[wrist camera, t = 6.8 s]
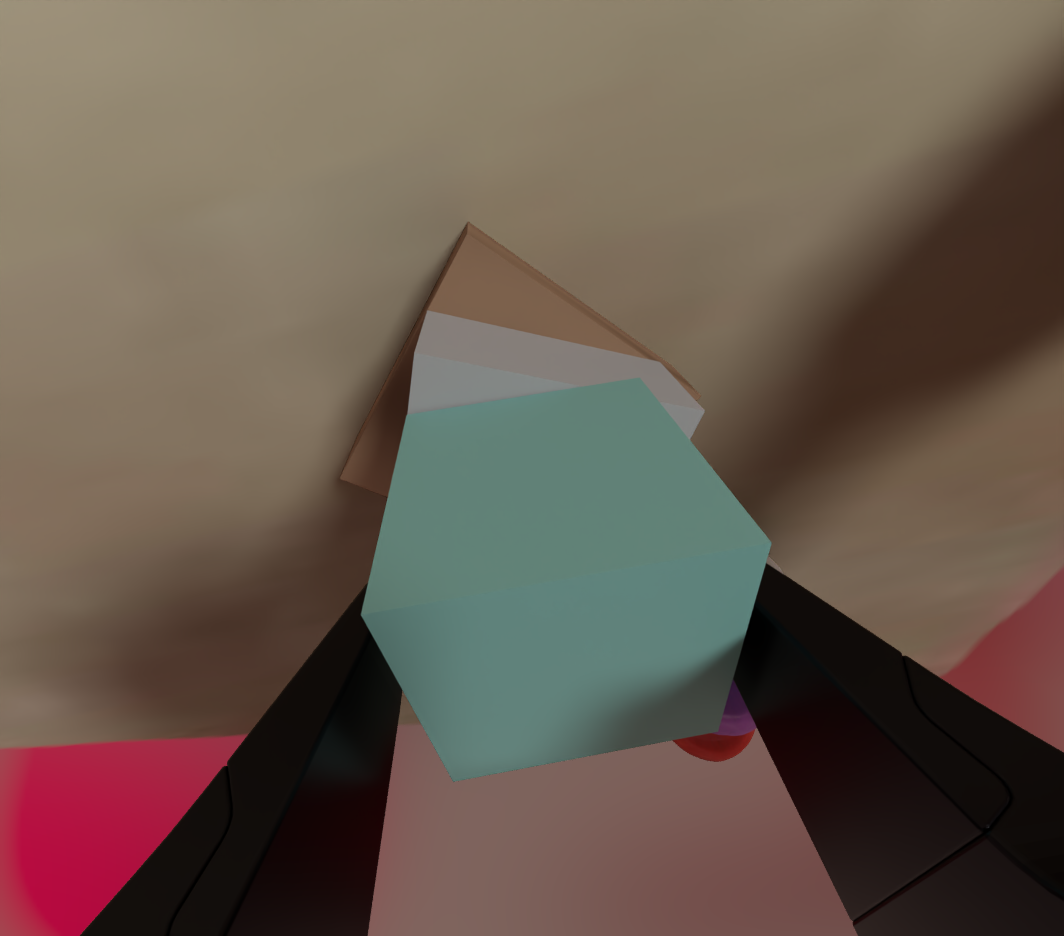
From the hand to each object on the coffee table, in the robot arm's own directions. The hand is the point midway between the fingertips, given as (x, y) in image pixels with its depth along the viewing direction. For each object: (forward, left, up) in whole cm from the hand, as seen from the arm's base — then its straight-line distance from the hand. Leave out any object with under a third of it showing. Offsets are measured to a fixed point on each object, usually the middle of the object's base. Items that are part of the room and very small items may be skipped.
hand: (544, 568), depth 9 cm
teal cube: (0, 0, -3) cm, 3 cm away
